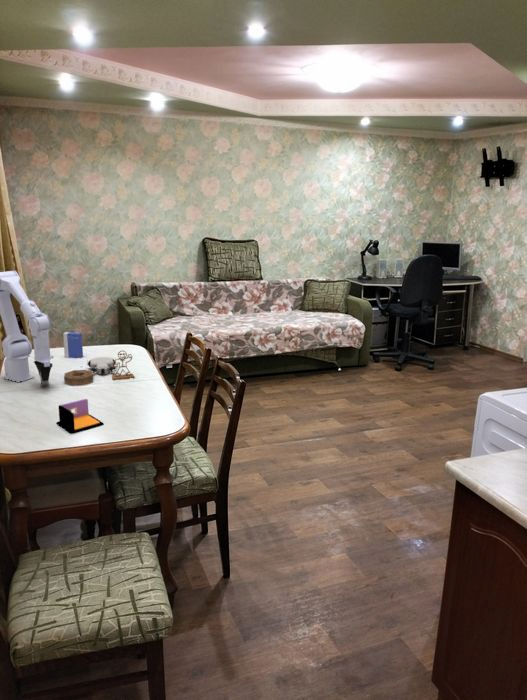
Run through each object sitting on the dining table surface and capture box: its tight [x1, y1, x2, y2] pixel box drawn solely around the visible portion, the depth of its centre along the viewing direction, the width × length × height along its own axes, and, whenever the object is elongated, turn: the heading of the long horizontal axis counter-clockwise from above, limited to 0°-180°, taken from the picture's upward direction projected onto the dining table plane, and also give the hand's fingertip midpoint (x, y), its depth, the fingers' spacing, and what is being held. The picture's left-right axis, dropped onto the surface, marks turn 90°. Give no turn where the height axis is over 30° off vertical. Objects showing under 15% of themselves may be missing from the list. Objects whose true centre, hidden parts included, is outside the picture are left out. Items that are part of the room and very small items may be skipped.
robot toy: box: [86, 356, 118, 375], centre depth 237 cm, size 12×4×15 cm
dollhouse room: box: [55, 398, 105, 435], centre depth 182 cm, size 12×12×7 cm
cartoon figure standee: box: [111, 350, 135, 381], centre depth 228 cm, size 9×4×12 cm, turn 112°
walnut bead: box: [63, 369, 94, 387], centre depth 224 cm, size 11×11×3 cm
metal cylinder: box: [39, 373, 50, 389], centre depth 216 cm, size 3×3×8 cm
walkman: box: [62, 331, 84, 359], centre depth 255 cm, size 8×3×12 cm, turn 85°
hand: (44, 379), depth 216 cm, fingers closed on metal cylinder, 3 cm apart
